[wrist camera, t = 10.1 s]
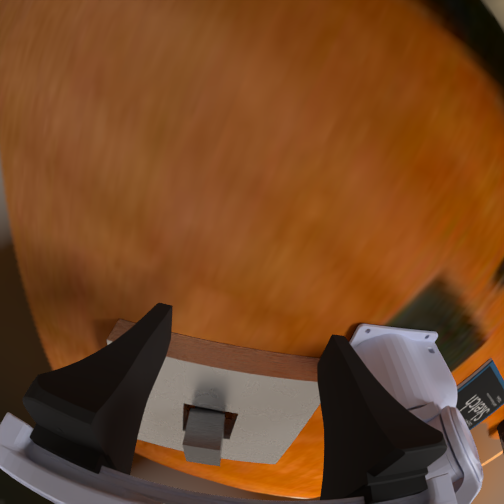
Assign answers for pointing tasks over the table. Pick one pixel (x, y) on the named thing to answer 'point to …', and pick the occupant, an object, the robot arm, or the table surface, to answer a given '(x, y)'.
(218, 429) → the grey block
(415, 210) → the table surface
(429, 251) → the table surface
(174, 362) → the grey square slab
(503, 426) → the coffee mug
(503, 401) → the sketchbook
